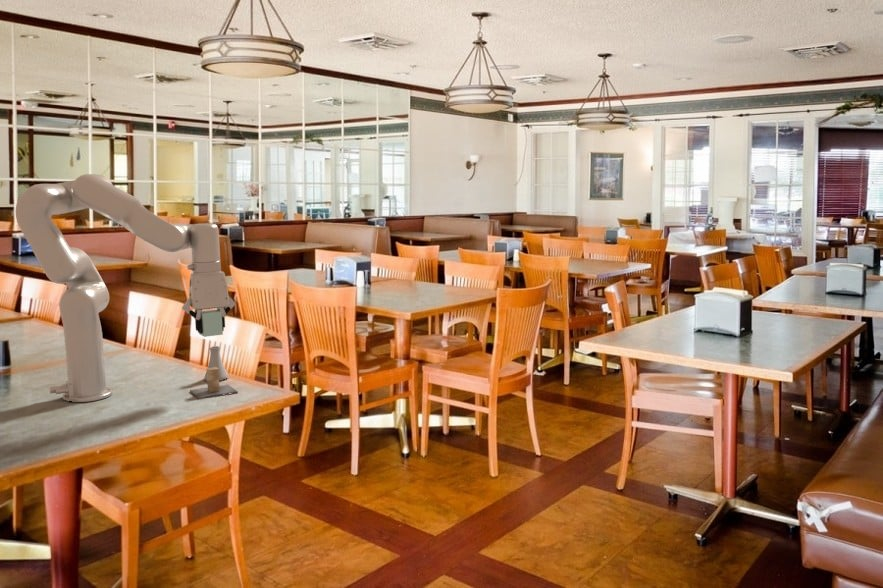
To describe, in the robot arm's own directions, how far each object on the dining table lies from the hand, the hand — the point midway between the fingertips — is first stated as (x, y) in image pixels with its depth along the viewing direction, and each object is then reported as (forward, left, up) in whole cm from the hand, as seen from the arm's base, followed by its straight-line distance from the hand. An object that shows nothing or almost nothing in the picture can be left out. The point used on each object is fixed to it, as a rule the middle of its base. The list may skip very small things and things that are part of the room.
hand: (210, 331), depth 215 cm
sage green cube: (0, 0, -1) cm, 1 cm away
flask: (+5, +15, -18) cm, 24 cm away
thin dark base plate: (0, 0, -18) cm, 18 cm away
